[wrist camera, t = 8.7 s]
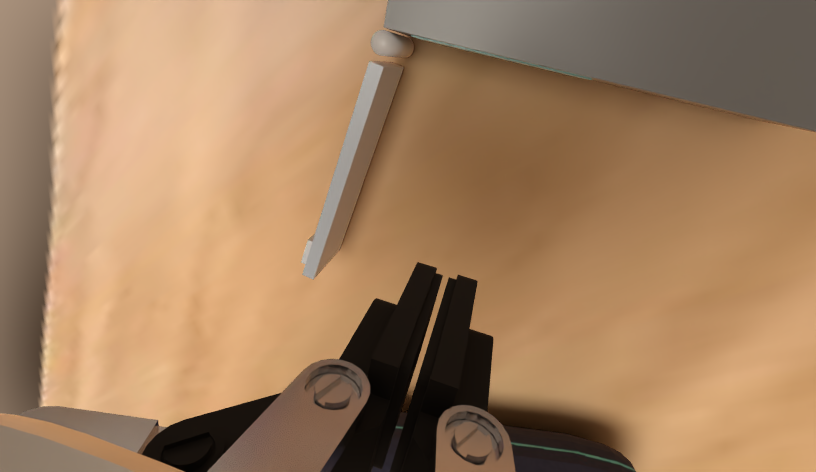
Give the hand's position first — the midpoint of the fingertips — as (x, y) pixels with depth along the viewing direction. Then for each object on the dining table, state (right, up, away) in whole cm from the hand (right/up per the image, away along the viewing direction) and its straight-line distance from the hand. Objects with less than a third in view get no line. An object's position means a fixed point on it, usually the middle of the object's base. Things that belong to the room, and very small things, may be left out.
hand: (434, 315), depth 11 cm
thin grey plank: (-4, +6, +13) cm, 15 cm away
